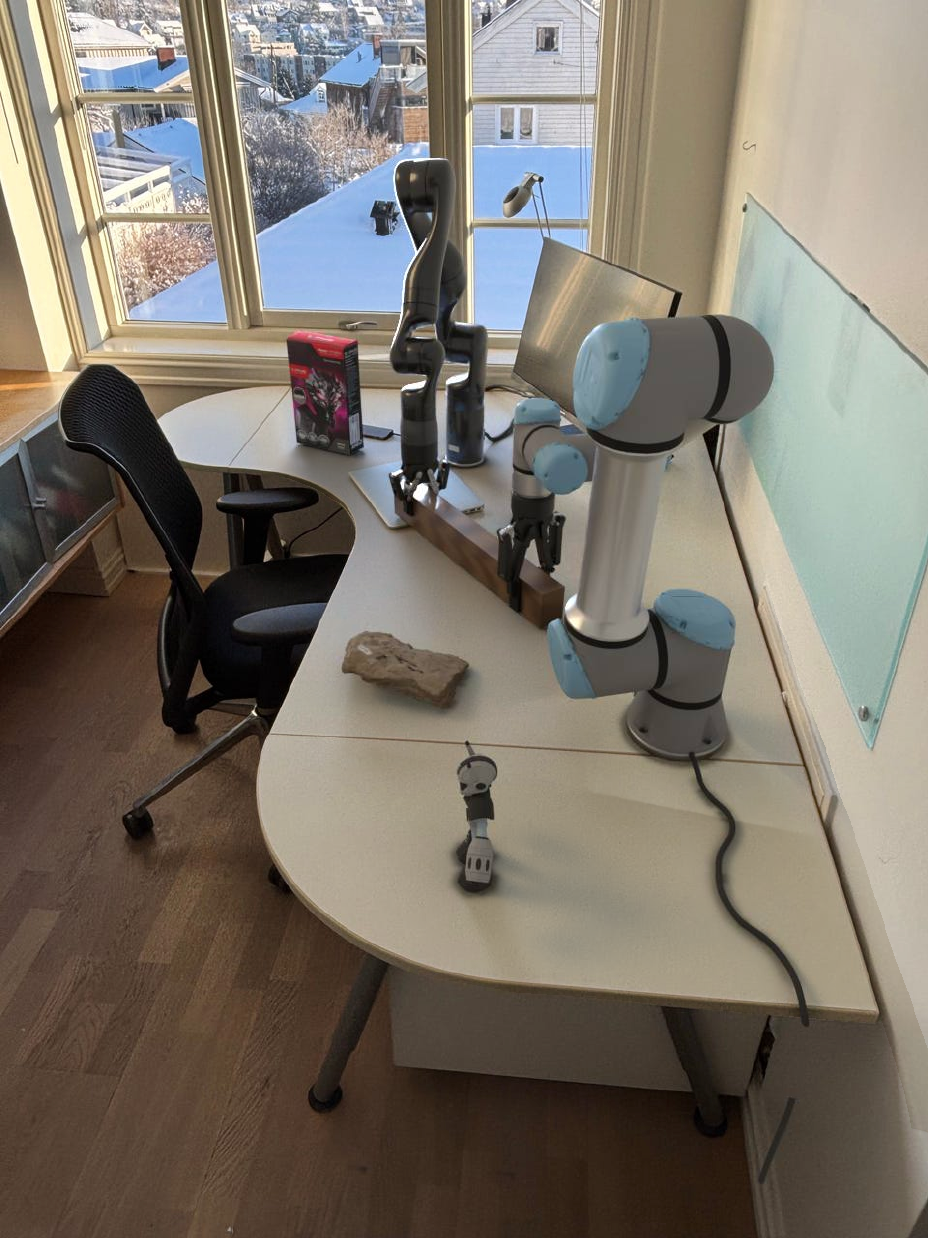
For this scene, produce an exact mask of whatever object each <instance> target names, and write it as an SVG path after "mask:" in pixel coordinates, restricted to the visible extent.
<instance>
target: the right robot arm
mask: <svg viewBox="0 0 928 1238" xmlns="http://www.w3.org/2000/svg"><path fill="white" fill-rule="evenodd" d="M573 369H574V370H573V377H572V391H573V392H574V393H573V396H572V402H573V409H574V412H575V413H574V414H575V416H576V418H577V420H578V421H579V423H580V424H581V425H582V426H583V427H585V433H575V434H565V432H563V430H562V429H561V422H562V417H561V415H562V414H561V407H560V405H559V404H558V403H557V402H556V401H555V400H553V401H552V400H549V398H544V397H532V398H526V399H523V400H521V401H519V402H518V403H517V404H516V405H515V407H514V416H513V418H514V422H513V435H512V436H513V437H512V468H511V469H512V470H511V473H512V474H511V488H512V489H511V492H510V494H511V495H510V510H511V514H512V515H511V516H512V517H511V519H510V522H509V525H508V526H507V527H505V528H501V527H499V528H497V529H496V537H497V538H498V539H499V548H498V571H497V575H498V577H500V578H501V579H502V580H504V581H505V582H507V591H506V592H507V594H508V595H509V604H508V607H509V608H511V609H512V610H513V611H514V612H515V613H517V614H518V613H519V612H521V596H522V581H521V580H520V579H519V576H520V572H521V569H522V565H523V561H524V558H526V554H527V550H528V549H529V548H530V546H531V543H532V541H533V540H534V542H535V548H536V549H535V550H536V553H537V558H538V564H539V566H537V567H538V568H540V569H541V570H543V571H544V572H545V573H547V574H548V575H549V576H551V574H553V573H554V572H555V571H556V568H555V567H554V566H559V565H560V564H561V561H562V549H563V548H562V547H563V546H562V545H563V530H564V526H565V523H566V520H567V517H566V516H565V515H563V514H562V513H560V512H559V511H557V510H555V503H556V502H555V501H556V495H559V496H565V495H570V494H571V493H573V492H575V491H577V490H579V489H580V488H581V487H582V486H583V485H584V483H586V482H587V483H589V482H591V485H590V486H591V488H590V494H589V503H588V511H587V519H586V527H585V533H584V542H583V551H582V559H581V566H580V573H579V581H578V582H579V583H578V591H577V593H575V594H573V595H572V596H571V597H570V598H569V599H568V600H567V602H566V604H565V608H564V613H563V615H564V616H563V618H562V619H558V618H557V619H556V620H553V621H551V622H550V623H549V625H548V627H547V630H546V635H547V637H546V639H547V646H548V654H549V657H550V661H551V665H552V670H553V673H554V675H555V678H556V681H557V683H558V685H559V688H560V689H561V691H562V692H563V694H564V695H565V696H566V697H568V698H570V699H573V700H583V699H584V700H585V699H592V700H595V699H597V698H604V697H611V696H617V695H623V694H629V693H630V694H631V693H633V699H632V701H631V702H630V704H629V706H628V708H627V711H626V719H625V728H626V732H627V734H628V736H629V738H630V739H631V741H632V742H634V744H636V745H637V746H638V747H639V748H640V749H641V750H643V751H645V752H646V753H648V754H650V755H651V756H654V757H656V758H659V759H662V760H666V761H670V762H675V763H691V764H692V767H693V771H694V775H695V778H696V782H697V785H698V787H699V789H700V790H701V792H702V793H703V795H704V796H705V797H706V799H708V800H709V801H710V802H711V803H712V804H713V805H714V806H715V807H717V808H718V809H719V810H720V811H721V812H722V813H723V814H724V815H725V817H726V819H727V822H728V828H729V829H728V833H727V836H726V837H725V839H724V841H723V843H722V844H721V846H720V847H719V849H718V852H717V854H716V858H715V866H714V867H715V871H714V872H715V882H716V889H717V892H718V895H719V897H720V900H721V902H722V903H723V905H724V907H725V909H726V911H727V912H728V913H729V915H730V916H731V917H732V918H733V919H734V921H735V922H736V923H737V924H739V925H740V926H741V927H742V928H743V929H745V930H746V931H747V932H748V933H750V934H752V935H753V936H755V937H756V938H757V939H758V940H759V941H761V942H762V943H764V945H766V946H767V947H768V948H769V949H770V950H771V951H772V952H773V953H774V954H775V956H776V957H777V958H778V959H779V961H780V963H781V964H782V966H783V967H784V969H785V970H786V972H787V974H788V975H789V978H790V980H791V982H792V984H793V988H794V991H795V994H796V999H797V1004H798V1008H799V1013H800V1014H799V1015H800V1020H801V1025H803V1027H805V1028H809V1027H810V1017H809V1011H808V1006H807V1000H806V997H805V993H804V989H803V986H802V983H801V980H800V979H799V977H798V974H797V972H796V971H795V969H794V967H793V966H792V963H791V962H790V961H789V959H788V958H787V956H786V955H785V954H784V952H783V950H781V948H780V946H778V945H777V944H776V943H775V942H774V941H773V940H772V939H771V938H770V937H768V936H767V935H766V934H764V933H763V932H762V931H760V930H759V929H758V928H757V927H755V926H753V925H752V924H751V923H750V922H748V921H747V920H746V919H744V918H743V917H742V916H741V915H740V914H739V912H737V911H736V909H735V908H734V907H733V905H732V902H730V900H729V897H728V895H727V893H726V890H725V885H724V880H723V860H724V856H725V854H726V851H727V849H728V848H729V846H730V845H731V843H732V841H733V839H734V837H735V835H736V821H735V819H734V816H733V815H732V812H731V811H730V810H729V809H728V807H726V806H725V805H724V804H723V803H722V802H721V801H720V800H719V799H718V798H717V797H715V796H714V794H712V792H710V791H709V789H708V788H707V786H706V785H705V783H704V780H703V777H702V773H701V770H700V765H699V763H698V762H700V761H703V760H706V759H709V758H711V757H714V755H716V754H718V752H720V751H721V750H722V748H723V747H724V744H725V743H726V740H727V739H726V738H727V734H728V721H727V716H726V712H725V708H724V707H725V706H724V701H723V692H724V686H725V682H726V678H727V672H728V668H729V664H730V659H731V654H732V651H733V650H732V649H733V648H734V646H735V637H736V636H735V635H736V618H735V616H734V614H733V612H732V611H731V609H730V608H729V607H728V606H727V605H726V604H725V603H723V602H722V601H721V600H719V599H717V598H715V596H712V595H709V594H707V593H704V592H701V591H699V590H698V591H697V590H694V589H689V588H670V589H667V590H666V589H665V590H664V591H662V592H661V593H660V594H658V595H657V597H656V599H654V602H653V607H652V608H647V607H646V606H645V604H644V603H643V602H642V600H643V593H644V588H645V583H646V576H647V571H648V566H649V560H650V555H651V549H652V543H653V538H654V534H655V533H654V532H655V526H656V522H657V516H658V510H659V504H660V498H661V494H662V487H663V483H664V476H665V473H666V471H667V470H669V465H670V464H671V463H672V462H671V461H672V455H674V453H676V452H677V451H679V450H681V449H682V448H684V447H685V446H687V445H688V444H689V443H691V442H692V441H694V440H695V439H698V438H699V437H700V436H702V435H703V434H705V433H707V432H708V431H709V430H711V429H712V428H714V427H715V426H717V425H721V426H723V425H730V424H733V423H735V422H738V421H739V420H741V419H742V418H744V417H746V416H747V415H749V414H750V413H752V412H753V411H754V410H755V409H756V408H757V407H759V406H760V405H761V403H763V401H764V400H765V399H766V398H767V395H768V394H769V392H770V389H771V387H772V384H773V382H774V374H775V363H774V356H773V352H772V350H771V347H770V345H769V343H768V341H767V340H766V338H765V337H764V336H763V334H762V333H761V332H760V331H759V330H758V329H757V328H756V327H755V326H753V325H752V324H750V323H748V322H747V321H745V320H743V319H741V318H738V317H735V316H731V315H726V314H705V315H693V316H692V315H690V316H673V317H671V316H670V317H658V318H657V317H653V318H639V317H629V318H625V319H624V320H617V321H616V320H615V321H608V322H604V323H603V322H602V323H600V324H599V325H597V326H595V327H594V328H593V329H592V330H591V332H589V333H587V335H586V337H585V338H584V340H583V341H582V344H581V346H580V348H579V351H578V353H577V357H576V360H575V365H574V368H573ZM519 614H520V613H519ZM795 1103H796V1098H794V1097H791V1096H788V1098H787V1101H786V1105H785V1107H784V1111H783V1113H782V1116H781V1119H780V1122H779V1124H778V1127H777V1129H776V1132H775V1133H774V1137H773V1139H772V1141H771V1144H770V1146H769V1149H768V1151H767V1154H766V1156H765V1159H764V1161H763V1164H762V1166H761V1170H760V1172H759V1175H758V1178H757V1182H758V1183H759V1184H760V1185H763V1184H765V1182H766V1180H767V1179H766V1178H767V1176H768V1173H769V1170H770V1168H771V1165H772V1162H773V1160H774V1158H775V1155H776V1153H777V1151H778V1148H779V1145H780V1143H781V1142H782V1139H783V1137H784V1134H785V1131H786V1129H787V1126H788V1124H789V1121H790V1119H791V1116H792V1113H793V1110H794V1106H795Z"/></svg>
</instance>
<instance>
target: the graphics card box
mask: <svg viewBox="0 0 928 1238" xmlns="http://www.w3.org/2000/svg"><path fill="white" fill-rule="evenodd" d="M285 341H286V348H287V349H286V350H287V359H288V369H289V378H290V389H291V398H292V408H293V420H294V428H295V441H296V444H300V445H304V446H309V447H314V448H317V449H321V450H326V451H330V452H334V453H340V454H343V455H348V456H351V455H353V454H354V453H356V452H358V451H359V450H361V449H363V448H364V445H365V443H364V428H363V427H364V426H363V424H364V423H363V411H362V409H363V408H362V396H361V377H360V361H359V341H358V339H350V338H343V337H339V336H333V335H330V334H329V335H328V334H324V333H318V332H313V331H312V332H311V331H306V330H298V331H295V332H293V333H292V334H290V335H289V336H288V337H286V340H285Z"/></svg>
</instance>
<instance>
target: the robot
mask: <svg viewBox="0 0 928 1238" xmlns="http://www.w3.org/2000/svg"><path fill="white" fill-rule="evenodd" d="M464 743H465V748H466V750H467V754H468V755H469V756H467V757H465V758H464V759H463V760H462V761H461V762H460V763H458V766H457V768H456V775H457V780H458V781H459V793H460V795H462V796H463V797H462V799H463V801H464V803H465V805H466V807H465V815H466V822H467V823H468V825H469V830H468V832H467V834H466V836H465V838H464V839H463V841H462V843H461V845H459V847H458V848H457V850H456V851H455V853H456V856H457V858H458V860H459V861H460V862H461V863H463V864H464V865H463V866H462V869H461V872H460V873H459V876H458V880H457V883H458V884H459V885H460V886H461V888H462V889H464V890H465V891H469V892H473V893H475V892H480V891H482V890H484V889H486V888H487V887H490V886H491V883H492V880H493V863H494V847H493V844H492V840H491V839H490V838H489V837H488V830H487V829H488V820H490V821H495V804H494V801H493V799H492V797H491V788H492V783H493V782H495V780H496V779H497V777H498V766H497V764H496V762H495V761H494V760H493V759H492V758H490V757H489V756H487V755H485V754H482V753H478V752H477V753H476V752H475V751H474V749H473V747H472V745H471V744H470V742H469V740H466V741H464Z"/></svg>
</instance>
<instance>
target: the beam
mask: <svg viewBox="0 0 928 1238" xmlns="http://www.w3.org/2000/svg"><path fill="white" fill-rule="evenodd" d="M404 480H405V478H404V479H402V482H401V486H402V490H403V488H404V486H403V483H404ZM410 484H411V483H410ZM411 485H412V484H411ZM393 499H394V500H393V502H394V503H393V504H394V514H395V515H396V516H398V517H399V518H400V519H401V520H403V522H405V523H406V524H408V525H409V526H410V527H412V528H413V529H414V530H415V531H416V532H418V533H419V534H420V535H422V536H423V537H424V538H425V539H427V540H428V541H429V542H430V543H432V545H434V546H435V547H436V548H438V550H440V551H441V552H443V554H445V555H447V556H448V557H449V558H450V559H451V560H453V561H454V562H455V563H456V564H457V565H459V566H460V567H461V568H463V569H464V570H465V571H466V572H468V573H469V574H470V575H471V576H473V577H474V579H476V580H478V581H479V582H480V583H481V584H483V585H484V586H485V587H486V588H487V589H489V591H491V592H492V593H494V594H495V595H496V596H497V597H498V598H500V599H501V600H502V601H504V603H506V604H508V605H509V595H508V594H507V592H506V591H507V582H505V581H504V580H502V579H501V578H500V577H498V575H497V571H498V548H499V539H498V536H497V535H496V536H495V535H494V534H493V533H492V532H490V531H489V530H488V529H486V528H485V527H484V526H482V525H480V523H478V522H477V521H475V520H473V518H471V517H470V516H469V515H467V514H465V512H463V511H461V510H460V509H459V508H457V507H456V506H454V505H453V504H452V503H450V502H449V501H448V500H446V499H445V498H443V496H441V495H439V493H438V494H436V493H435V492H434V491H432V490H431V489H429V488H428V486H427V485H425V483H422V484H420V485H418V486H417V490H416V491H415V492H414V495H413V498H412V501H413V516H411V517H409V516H408V515H407V514H406V513H404V511H403V501H400V500H399V499H398V498H397V497H395V496H394V495H393ZM519 579H520V580H521V581H522V596H521V612H519V614H520V615H521V616H522V617H524V618H525V619H526V620H527V621H529V622H530V623H531V624H532V625H533V626H535V627H536V628H538V629H539V630H543V629H545V628H548V625H549V623H550V622H551V621H553V620H556V619H557V618H558V619H563V618H564V616H563V615H564V604H565V589H566V586H564V585H563V584H562V583H560V581H558V580H556V579H555V577H552V576H551V575H550V576H549V575H548V574H547V573H545V572H544V571H543V570H541V569H540V568H538V566H537V565H536V564H535V563H533V562H532V561H530V560H529V559H527V558H526V557H525V558H524V561H523V565H522V569H521V572H520V576H519Z"/></svg>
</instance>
